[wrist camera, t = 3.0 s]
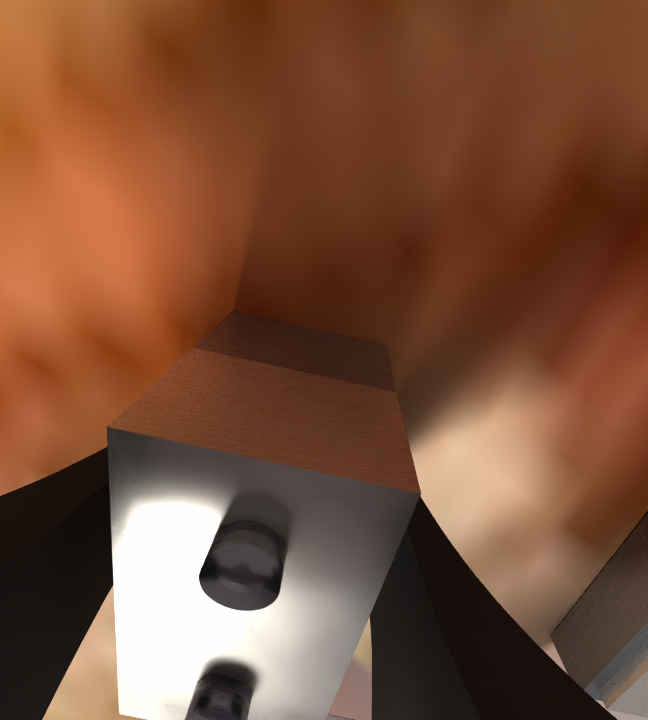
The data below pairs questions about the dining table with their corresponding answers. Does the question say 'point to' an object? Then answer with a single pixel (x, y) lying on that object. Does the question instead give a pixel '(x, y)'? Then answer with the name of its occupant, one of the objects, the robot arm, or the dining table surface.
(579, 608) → the panel
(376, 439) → the housing
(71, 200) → the dining table surface
